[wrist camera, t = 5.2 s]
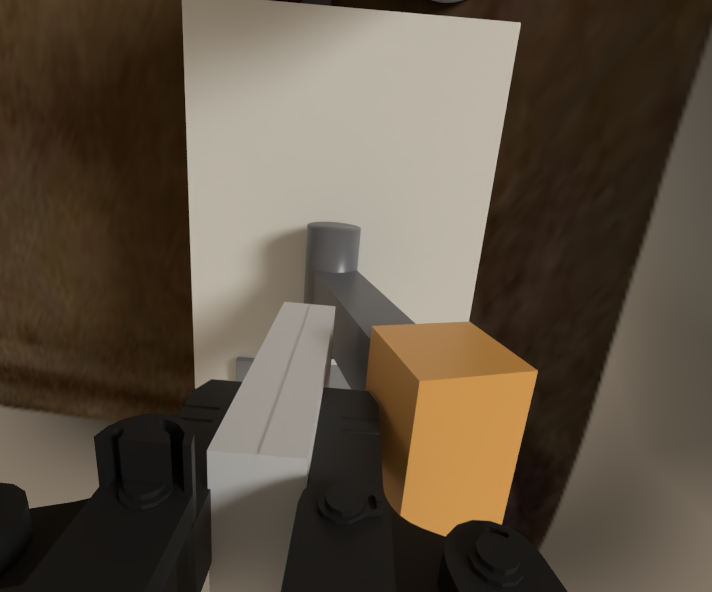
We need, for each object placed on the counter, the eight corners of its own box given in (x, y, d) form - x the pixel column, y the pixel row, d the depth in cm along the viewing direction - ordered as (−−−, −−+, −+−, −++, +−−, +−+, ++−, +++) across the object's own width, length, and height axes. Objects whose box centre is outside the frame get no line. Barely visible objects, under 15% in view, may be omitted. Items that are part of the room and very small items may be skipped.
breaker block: (236, 37, 22) (176, -12, 15) (475, 59, 23) (524, 19, 16) (236, 390, 29) (194, 468, 22) (423, 406, 29) (441, 489, 22)
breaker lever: (297, 220, 17) (425, 342, 7) (356, 222, 18) (546, 335, 8) (292, 339, 19) (391, 573, 9) (347, 336, 20) (495, 550, 10)
